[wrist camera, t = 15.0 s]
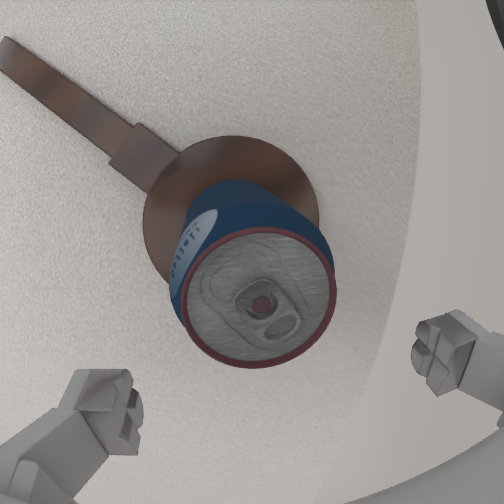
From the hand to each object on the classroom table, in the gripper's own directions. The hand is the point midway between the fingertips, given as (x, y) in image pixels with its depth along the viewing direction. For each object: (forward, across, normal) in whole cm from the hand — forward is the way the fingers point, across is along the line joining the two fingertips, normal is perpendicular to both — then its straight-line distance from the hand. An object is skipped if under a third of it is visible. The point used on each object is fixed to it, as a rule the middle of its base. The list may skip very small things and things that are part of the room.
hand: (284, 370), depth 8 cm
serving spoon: (+16, +7, -7) cm, 19 cm away
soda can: (+16, 0, 0) cm, 16 cm away
